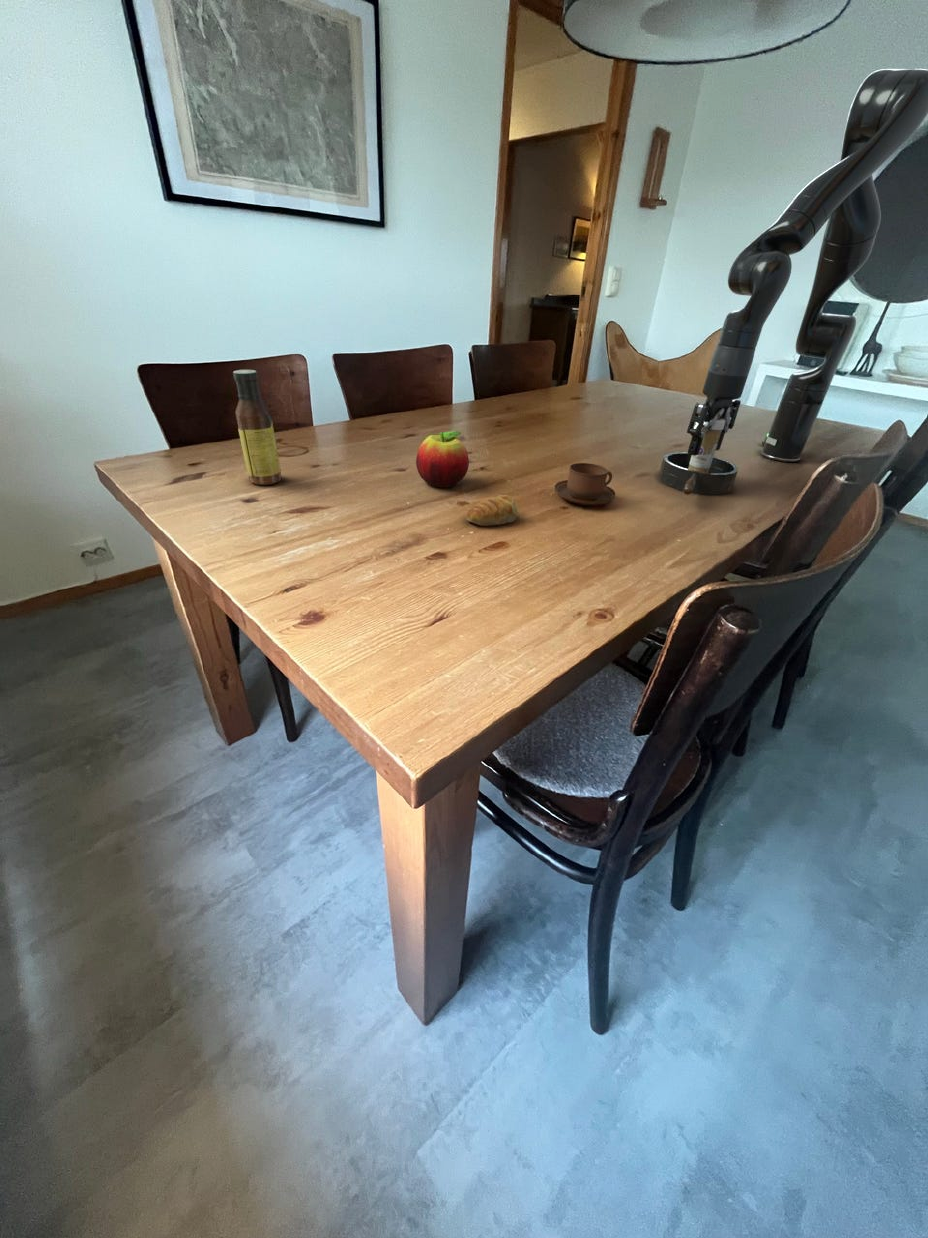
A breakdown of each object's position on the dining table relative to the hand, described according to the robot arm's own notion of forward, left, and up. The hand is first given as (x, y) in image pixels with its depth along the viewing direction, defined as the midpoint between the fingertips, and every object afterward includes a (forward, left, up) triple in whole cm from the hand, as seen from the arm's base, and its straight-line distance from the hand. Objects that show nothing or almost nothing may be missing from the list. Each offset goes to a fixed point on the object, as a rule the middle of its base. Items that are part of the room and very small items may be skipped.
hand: (703, 451), depth 115 cm
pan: (0, 0, -7) cm, 7 cm away
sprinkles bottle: (0, 0, -6) cm, 7 cm away
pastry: (+33, -43, -7) cm, 55 cm away
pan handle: (+12, -4, -4) cm, 14 cm away
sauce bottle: (+26, -89, -7) cm, 93 cm away
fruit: (+17, -55, -7) cm, 58 cm away
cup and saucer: (+18, -26, -7) cm, 32 cm away
